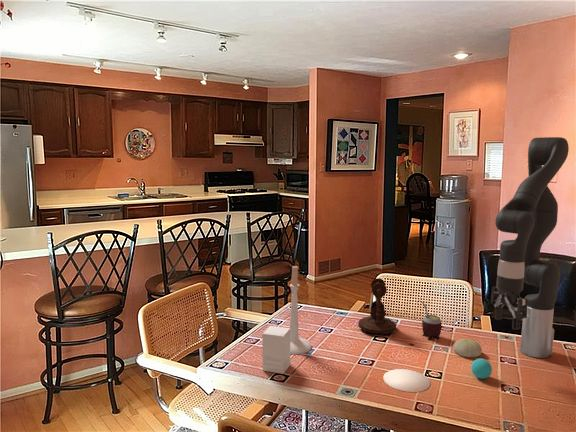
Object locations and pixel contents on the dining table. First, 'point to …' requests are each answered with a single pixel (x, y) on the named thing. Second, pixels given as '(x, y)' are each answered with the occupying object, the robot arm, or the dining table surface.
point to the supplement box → (276, 349)
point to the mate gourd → (431, 325)
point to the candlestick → (296, 320)
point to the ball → (481, 368)
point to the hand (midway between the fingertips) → (506, 324)
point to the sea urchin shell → (467, 348)
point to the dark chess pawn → (377, 312)
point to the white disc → (406, 380)
